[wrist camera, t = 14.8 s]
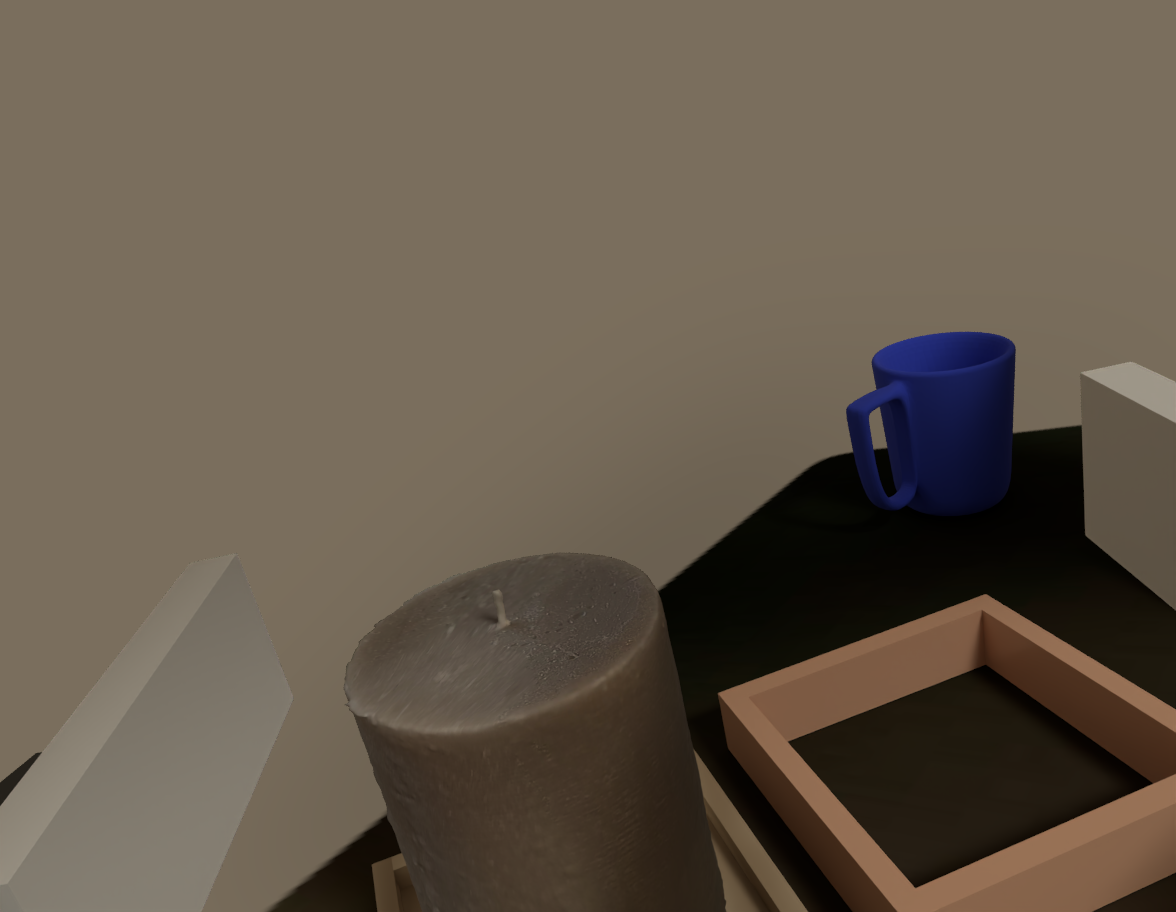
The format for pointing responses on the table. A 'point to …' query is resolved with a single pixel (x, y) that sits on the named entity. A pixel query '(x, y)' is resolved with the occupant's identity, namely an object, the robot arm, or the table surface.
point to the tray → (750, 878)
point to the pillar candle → (537, 742)
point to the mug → (940, 423)
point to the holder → (924, 658)
